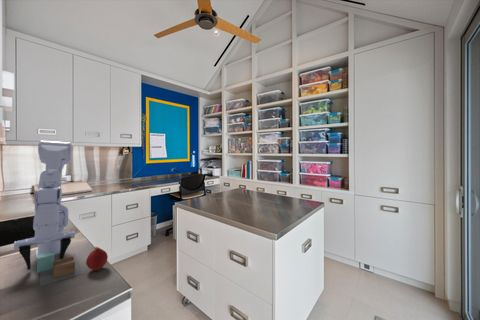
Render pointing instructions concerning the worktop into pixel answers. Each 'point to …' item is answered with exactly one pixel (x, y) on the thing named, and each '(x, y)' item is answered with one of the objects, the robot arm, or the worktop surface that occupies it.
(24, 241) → the robot arm
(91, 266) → the red round piece
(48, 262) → the teal block
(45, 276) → the mat
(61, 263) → the walnut block
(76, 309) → the worktop surface
